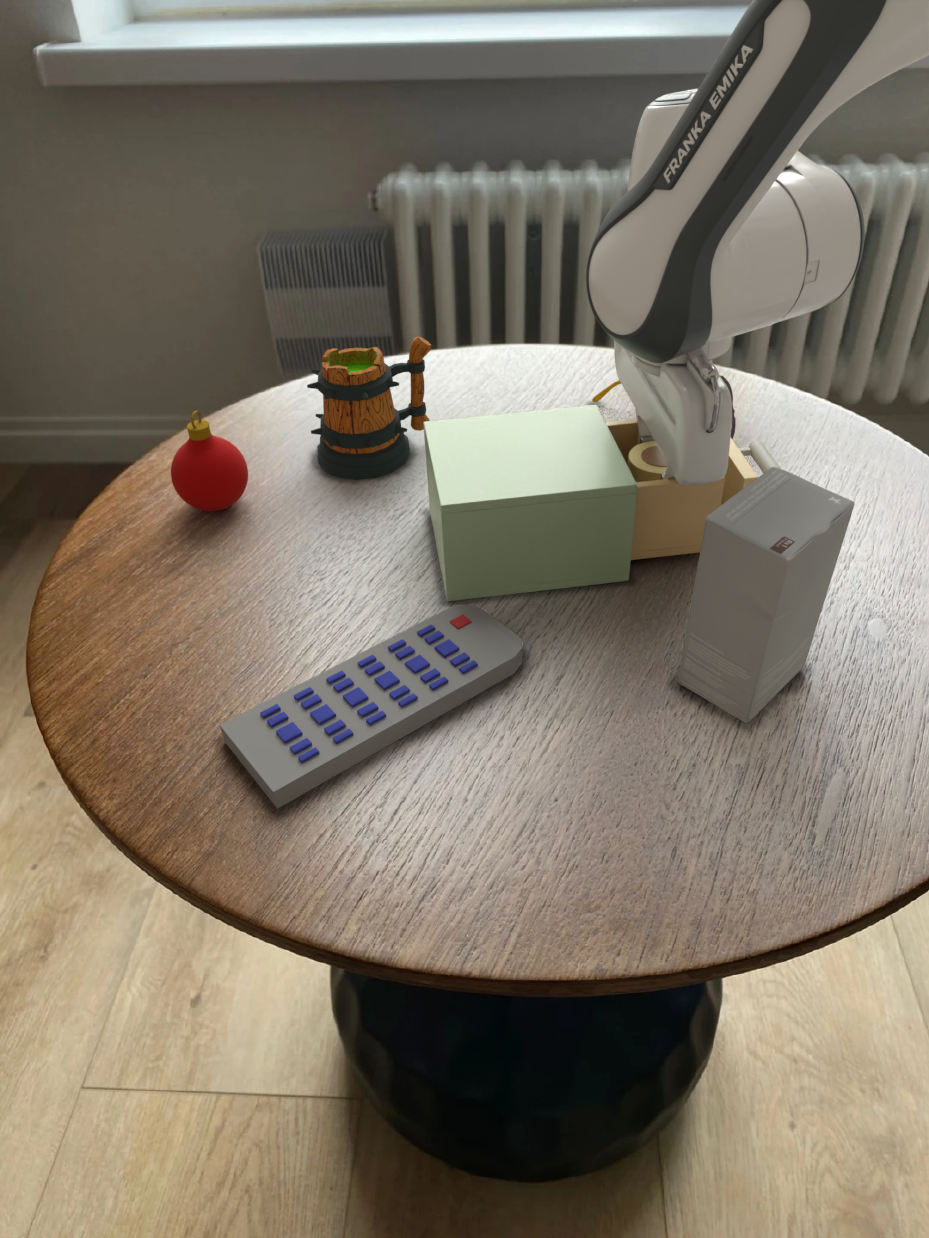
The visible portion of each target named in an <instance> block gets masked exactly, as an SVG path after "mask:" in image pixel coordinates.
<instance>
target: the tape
mask: <svg viewBox="0 0 929 1238" xmlns="http://www.w3.org/2000/svg"><path fill="white" fill-rule="evenodd" d="M628 468H629V469H630V471H631V473H632V475H633V477H634V479H635V481H636V482H644V481H654V480H660V478H661V474H662V473H665V472H666V469H667V465H666V463H665V459H664V457H663V456H662V454H661V452H660V450H659V449H658V447H657V445H656V443H655V442H654V441H649V442H644V443H641V444H638V445H637V446H635V447H633V448H632V449H631V451H630V452H629V456H628Z"/></svg>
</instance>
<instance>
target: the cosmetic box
mask: <svg viewBox="0 0 929 1238" xmlns="http://www.w3.org/2000/svg"><path fill="white" fill-rule="evenodd" d="M854 507H855V501H854V500H851V499H849V498H847V497H844V496H842V495H840V494H838V493H836V492H833V491H831V490H828V489H827V488H824V487H822V486H820V485H817V484H815V483H813V482H811V481H809V480H807V479H804V478H803V477H800V476H798V475H797V474H794V473H792V472H789V471H787V470H784V469H782V468H781V469H779V468H776V467H771V468H770V469H769V470H768V471H766V472H765V473H762V474H761V475H760V476H758V478H757V479H756V480H754V481H753V482H751V483H750V484H749V485H747V486H746V487H745V488H743V489H742V490H740V491H739V492H738V493H736V494H735V495H734V496H733V497H731V498H730V499H729V500H727V501H726V502H725V503H723V504H722V505H721V506H720V507H718V508H717V509H716V510H714V511H713V512H712V513H710V514H709V515H708V516H706V517H705V518H706V521H705V527H704V533H703V538H702V544H701V550H700V552H699V557H698V562H697V567H696V572H695V579H694V585H693V590H692V596H691V600H690V605H689V611H688V617H687V624H686V629H685V633H684V634H685V635H684V640H683V645H682V652H681V658H680V662H679V666H678V667H679V668H678V674H677V681H676V682H677V684H679V685H681V686H682V687H684V688H686V689H687V690H689V691H691V692H693V693H694V694H696V695H698V696H699V697H701V698H703V699H705V700H706V701H707V702H709V703H711V704H713V705H714V706H716V707H717V708H719V709H721V710H723V711H724V712H725V713H728V714H729V715H730V716H733V717H734V718H736V719H738V720H739V721H741V722H743V723H744V724H745V723H746V724H747V723H749V722H751V720H752V719H753V718H755V717H756V716H757V714H759V713H760V712H761V711H762V709H764V707H766V705H768V703H770V702H771V701H772V699H774V697H776V695H778V693H779V692H781V690H783V689H784V687H786V686H787V684H788V683H790V682H791V680H793V678H795V676H796V675H798V673H799V672H800V671H801V670H802V669H803V668H804V667H805V666H806V662H807V659H808V657H809V653H810V649H811V646H812V642H813V639H814V635H815V632H816V629H817V626H818V623H819V620H820V617H821V614H822V611H823V608H824V603H825V602H826V598H827V594H828V592H829V588H830V585H831V581H832V578H833V576H834V572H835V569H836V565H837V563H838V560H839V556H840V553H841V550H842V546H843V543H844V540H845V537H846V534H847V530H848V528H849V523H850V521H851V518H852V514H853V511H854Z"/></svg>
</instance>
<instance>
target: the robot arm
mask: <svg viewBox="0 0 929 1238" xmlns="http://www.w3.org/2000/svg"><path fill="white" fill-rule="evenodd" d="M927 57H929V0H751V2H750V4H749V5H748V7H747V8H746V10H745V11H744V13H743V15H742V16H741V18H740V20H738V22H737V24H736V26H735V28H734V29H733V31H732V32H731V34H730V36H729V37H728V39H727V41H726V42H725V43H724V45H723V47H722V49H721V51H719V54H718V55H717V57H716V58H715V60H714V62H713V63H712V65H711V66H710V68H709V70H708V72H707V74H706V75H705V76H704V78H703V80H702V81H701V82H700V83H701V84H700V85H699V87H698V88H692V89H691V88H690V89H687V90H682V91H675V92H670V93H666V94H664V95H661V96H659V97H657V98H655V99H654V100H653V101H652V102H650V103H649V104H648V105H647V106H646V107H645V108H644V110H643V112H642V115H641V117H640V120H639V123H638V127H637V130H636V134H635V139H634V143H633V147H632V153H631V159H630V168H629V174H628V181H627V182H628V183H627V190H626V191H627V192H626V193H625V194H623V195H622V196H621V197H620V198H618V200H616V201H615V202H614V203H613V205H612V206H611V207H610V209H609V210H608V212H607V213H606V215H605V217H604V218H603V220H602V222H601V224H600V226H599V227H598V230H597V232H596V234H595V236H594V239H593V241H592V245H591V247H590V250H589V255H588V259H587V263H586V273H585V286H586V293H587V298H588V303H589V306H590V309H591V311H592V314H593V316H594V318H595V320H596V322H597V323H598V325H599V326H600V327H601V329H602V330H603V331H604V332H605V333H606V334H607V335H608V336H609V338H611V339H612V340H613V351H614V352H613V354H614V355H613V357H614V358H613V359H614V366H615V373H616V376H617V378H618V380H620V382H621V384H620V385H622V387H623V389H624V391H625V393H626V394H627V396H628V397H629V399H630V401H631V403H632V405H633V407H634V411H635V419H637V427H638V433H639V436H638V444H641V443H644V442H649V441H654V442H655V443H656V445H657V447H658V449H659V450H660V452H661V454H662V456H663V457H664V459H665V463H666V465H667V469H666V472H665V473H662V474H661V478H660V480H663V479H672V478H675V479H676V480H677V482H678V483H679V484H680V485H682V486H692V485H703V484H711V483H716V482H719V481H720V480H721V479H722V478H723V477H724V476H725V474H726V472H727V467H728V459H729V449H730V438H731V428H732V400H731V395H730V391H729V389H728V387H727V385H726V383H725V382H724V381H723V379H722V378H721V377H720V376H721V375H720V374H719V371H718V368H717V367H716V366H715V365H714V364H713V362H714V359H717V358H719V357H721V356H723V355H725V354H726V353H727V352H728V351H729V350H730V348H731V346H732V344H733V339H734V338H733V337H736V336H739V335H742V334H746V333H749V332H752V331H756V330H760V329H762V328H767V327H770V326H772V325H774V324H778V323H780V322H784V321H787V320H790V319H794V318H797V317H800V316H803V315H806V314H809V313H812V312H815V311H817V310H819V309H821V308H823V307H826V306H829V305H831V304H833V303H835V302H836V301H838V300H839V299H840V298H841V297H843V295H844V294H845V293H846V291H847V290H848V288H849V287H850V285H851V284H852V282H853V280H854V279H855V276H856V274H857V272H858V270H859V267H860V264H861V261H862V257H863V253H864V246H865V238H866V237H865V231H866V230H865V229H866V227H865V217H864V213H863V209H862V205H861V203H860V200H859V197H858V195H857V194H856V191H855V189H854V188H853V186H852V185H851V184H850V182H848V180H847V179H846V178H845V177H844V176H843V175H842V174H841V173H840V172H838V171H837V170H836V169H835V168H832V167H831V166H828V165H826V164H825V165H824V164H819V163H817V162H815V161H813V160H811V159H810V158H809V157H807V156H806V155H804V154H803V153H802V152H801V151H799V150H800V148H801V147H802V146H803V144H804V143H805V142H806V140H807V139H808V138H809V137H810V135H811V134H812V133H814V131H815V130H816V129H817V128H818V127H819V126H820V125H821V124H822V123H823V122H824V121H825V120H826V119H827V118H828V117H829V116H831V115H832V114H833V113H834V112H835V111H836V110H837V109H838V108H840V107H841V106H843V105H844V104H846V103H847V102H848V101H850V100H851V99H852V98H854V97H855V96H857V95H858V94H860V93H862V92H863V91H865V90H866V89H867V88H869V87H871V86H873V85H874V84H876V83H878V82H880V81H881V80H883V79H885V78H886V77H889V76H891V75H893V74H895V73H896V72H898V71H900V70H902V69H904V68H907V67H908V66H910V65H912V64H914V63H916V62H918V61H920V60H922V59H924V58H925V59H926V58H927Z"/></svg>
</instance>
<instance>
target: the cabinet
mask: <svg viewBox="0 0 929 1238" xmlns="http://www.w3.org/2000/svg"><path fill="white" fill-rule="evenodd" d="M606 422H607V421H606V420H605V418H604V416H603V414H602V412H601V410H600V408H599V406H598V405H597V404H587V405H577V406H567V407H559V408H558V407H557V408H549V409H538V410H528V411H518V412H507V413H499V414H498V413H497V414H489V415H488V414H486V415H478V416H477V415H476V416H467V417H458V418H448V419H447V418H445V419H440V420H439V419H438V420H429V421H426V422H423V425H424V430H423V436H424V437H423V438H424V451H425V464H426V476H427V489H428V492H427V493H428V503H429V513H430V514H429V515H430V521H431V525H432V529H433V530H432V531H433V536H434V540H435V545H436V551H437V556H438V562H439V568H440V572H441V577H442V583H443V588H444V593H445V598H446V602H455V601H463V600H472V599H480V598H490V597H498V596H507V595H517V594H525V593H532V592H533V593H534V592H542V591H543V592H544V591H550V590H560V589H561V590H562V589H570V588H577V587H587V586H594V585H595V586H596V585H603V584H605V585H606V584H611V583H613V584H614V583H622V582H629V580H630V573H631V561H632V560H631V551H632V540H633V529H634V518H635V507H636V495H637V483H636V481H635V479H634V477H633V475H632V473H631V471H630V469H629V468H628V466H627V464H626V462H625V460H624V458H623V456H622V454H621V452H620V450H619V448H618V446H617V444H616V442H615V440H614V438H613V436H612V434H611V432H610V430H609V428H608V426H607V424H606Z"/></svg>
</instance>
